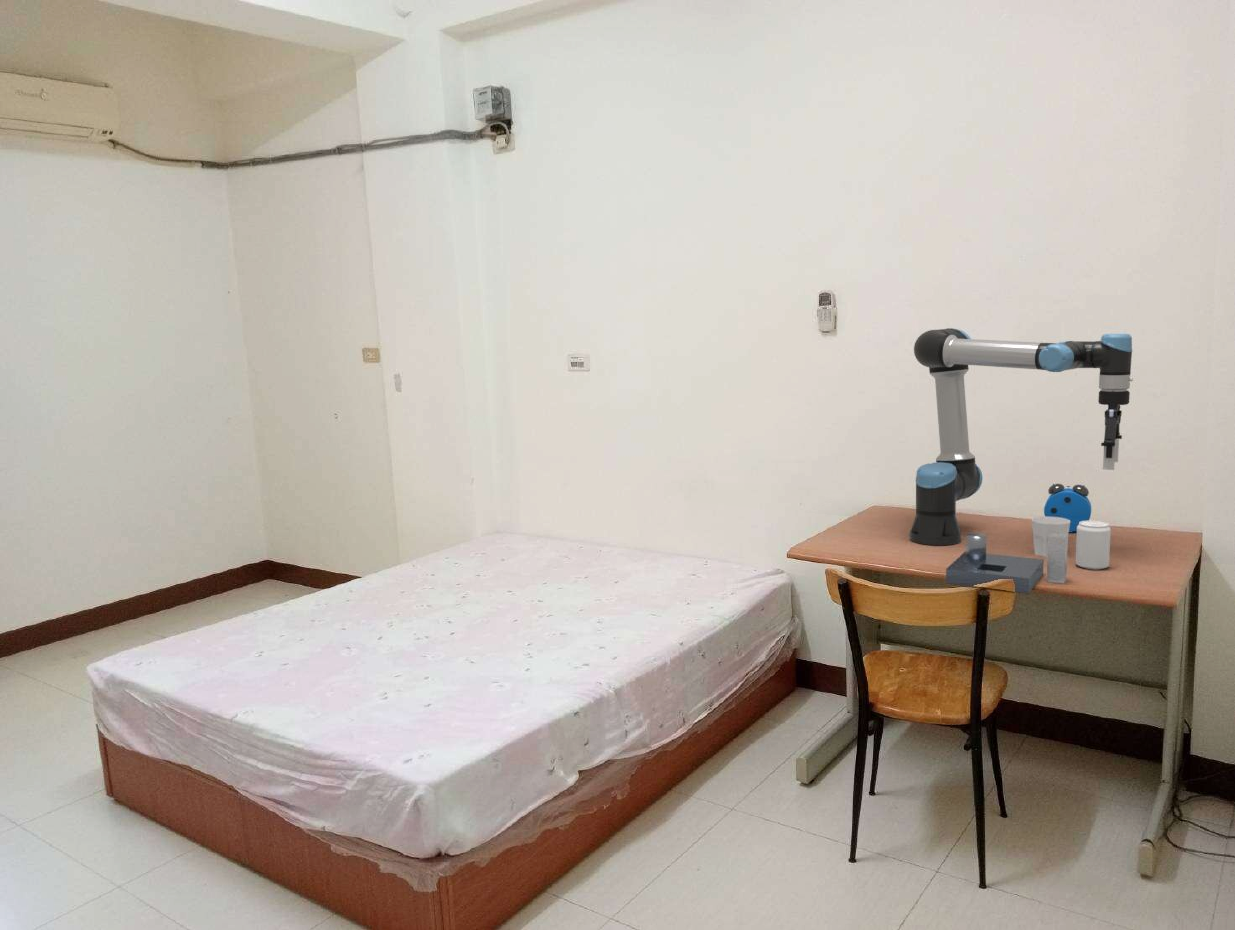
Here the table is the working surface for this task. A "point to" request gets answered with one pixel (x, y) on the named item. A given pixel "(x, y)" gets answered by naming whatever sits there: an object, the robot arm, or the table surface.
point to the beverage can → (1093, 545)
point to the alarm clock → (1068, 504)
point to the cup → (1047, 532)
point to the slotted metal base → (993, 567)
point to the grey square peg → (1057, 558)
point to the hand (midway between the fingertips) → (1110, 465)
